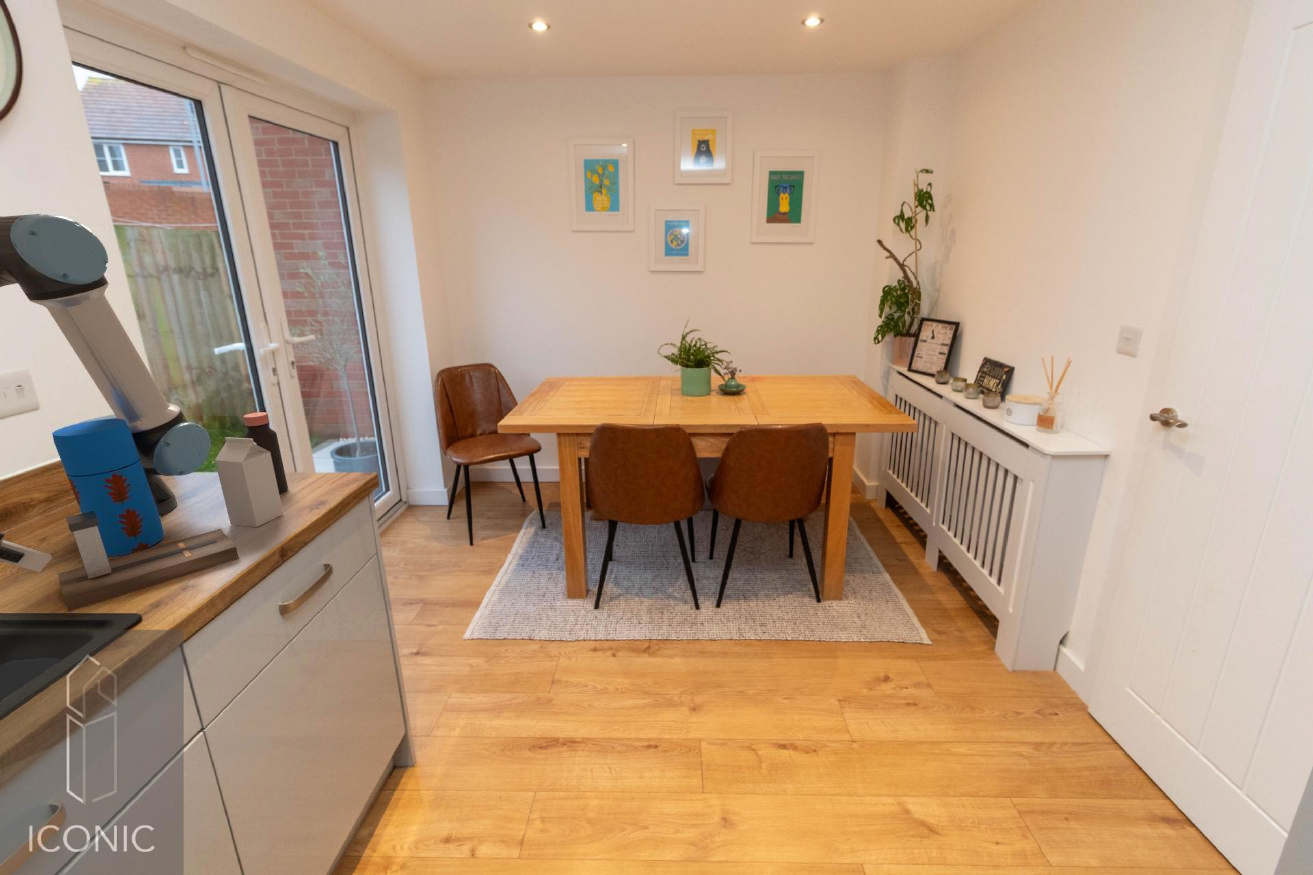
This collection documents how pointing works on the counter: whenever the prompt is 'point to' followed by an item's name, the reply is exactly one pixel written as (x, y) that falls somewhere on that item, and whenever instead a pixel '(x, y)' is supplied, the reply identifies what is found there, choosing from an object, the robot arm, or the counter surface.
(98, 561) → the fader handle
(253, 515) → the milk carton
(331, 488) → the counter surface
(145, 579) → the console
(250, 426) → the bottle
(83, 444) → the thermos
